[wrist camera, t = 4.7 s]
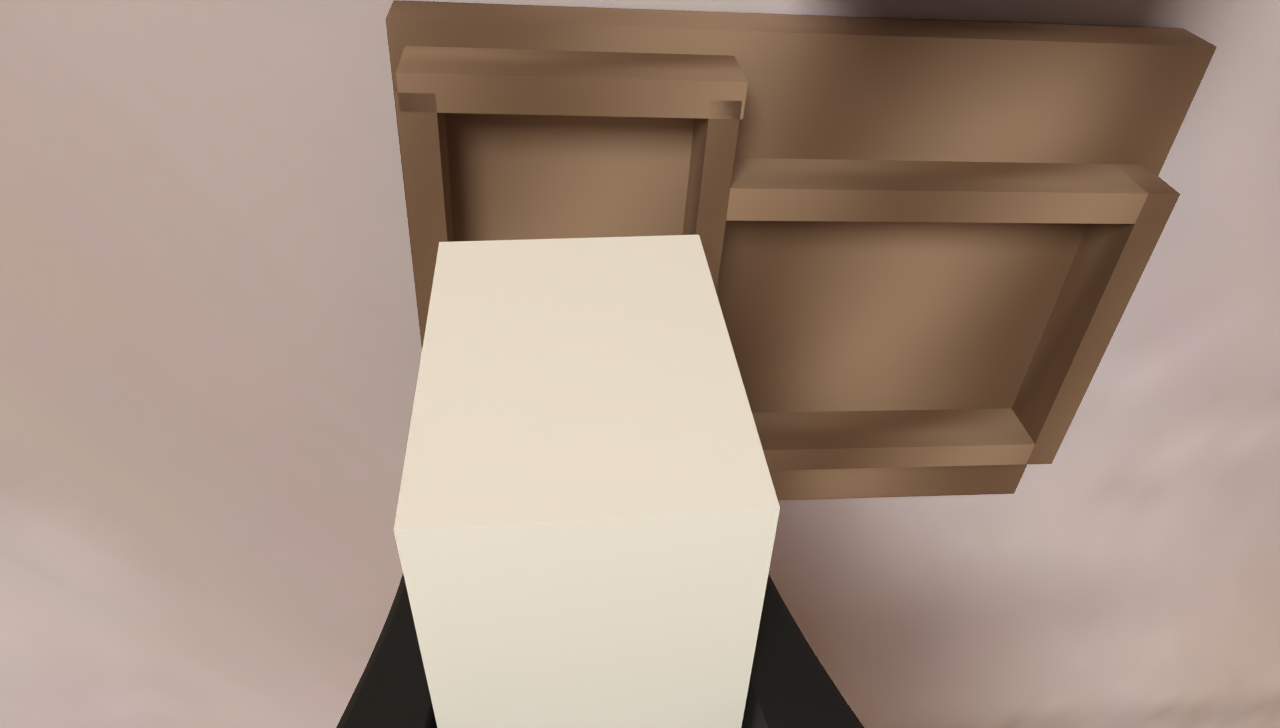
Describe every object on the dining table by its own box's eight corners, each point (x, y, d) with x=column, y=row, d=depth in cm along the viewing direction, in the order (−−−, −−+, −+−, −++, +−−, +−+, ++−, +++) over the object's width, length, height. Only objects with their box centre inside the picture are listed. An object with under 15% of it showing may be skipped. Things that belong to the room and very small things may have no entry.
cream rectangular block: (699, 234, 11) (779, 507, 7) (670, 622, 16) (711, 899, 12) (439, 241, 11) (393, 530, 7) (491, 634, 16) (480, 921, 12)
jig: (1183, 28, 16) (1261, 71, 14) (997, 465, 23) (1035, 530, 21) (393, 0, 15) (375, 44, 13) (443, 478, 21) (435, 550, 19)
